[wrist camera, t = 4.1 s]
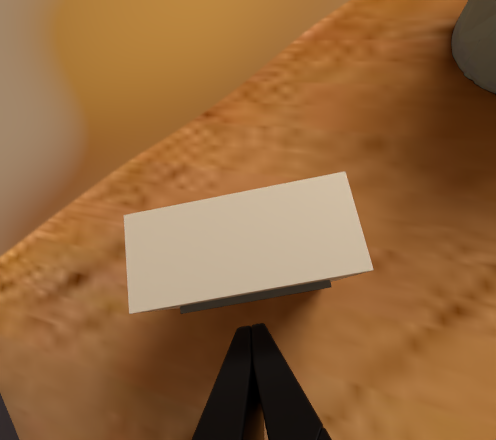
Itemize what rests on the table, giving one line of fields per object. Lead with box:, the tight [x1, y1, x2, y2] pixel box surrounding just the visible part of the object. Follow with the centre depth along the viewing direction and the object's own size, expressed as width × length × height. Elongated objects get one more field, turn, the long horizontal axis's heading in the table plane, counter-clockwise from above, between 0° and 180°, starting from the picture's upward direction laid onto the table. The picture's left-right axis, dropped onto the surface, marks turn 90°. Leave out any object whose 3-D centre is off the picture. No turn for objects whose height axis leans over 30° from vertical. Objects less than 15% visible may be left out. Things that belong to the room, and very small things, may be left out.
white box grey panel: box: [124, 172, 373, 314], centre depth 13 cm, size 3×7×9 cm, turn 100°
